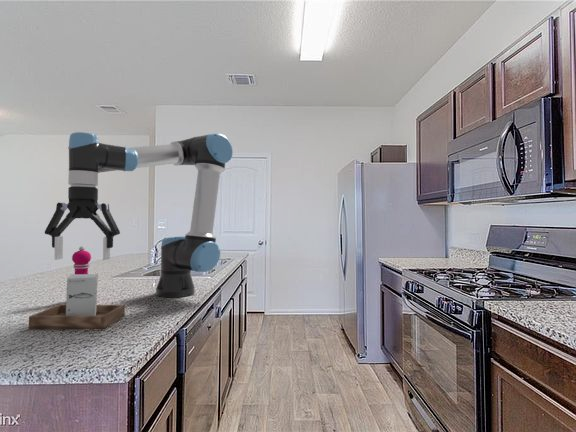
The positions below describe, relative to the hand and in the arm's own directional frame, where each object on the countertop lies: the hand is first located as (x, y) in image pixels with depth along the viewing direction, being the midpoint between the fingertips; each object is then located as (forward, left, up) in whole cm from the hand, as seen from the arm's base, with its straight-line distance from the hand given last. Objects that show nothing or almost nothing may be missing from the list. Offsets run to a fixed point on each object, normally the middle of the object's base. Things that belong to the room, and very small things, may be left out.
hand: (82, 259), depth 106 cm
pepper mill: (+13, -26, -19) cm, 34 cm away
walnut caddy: (0, 0, -18) cm, 18 cm away
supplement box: (0, 0, -18) cm, 18 cm away
